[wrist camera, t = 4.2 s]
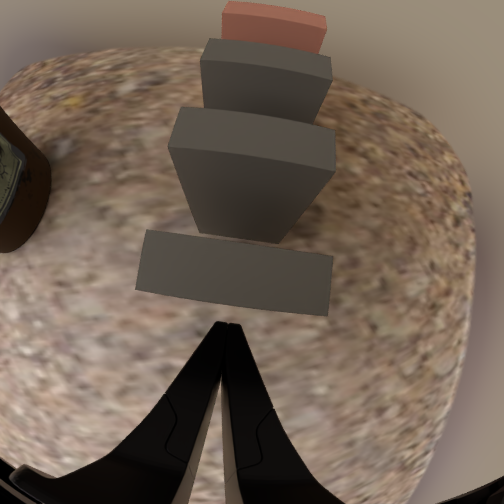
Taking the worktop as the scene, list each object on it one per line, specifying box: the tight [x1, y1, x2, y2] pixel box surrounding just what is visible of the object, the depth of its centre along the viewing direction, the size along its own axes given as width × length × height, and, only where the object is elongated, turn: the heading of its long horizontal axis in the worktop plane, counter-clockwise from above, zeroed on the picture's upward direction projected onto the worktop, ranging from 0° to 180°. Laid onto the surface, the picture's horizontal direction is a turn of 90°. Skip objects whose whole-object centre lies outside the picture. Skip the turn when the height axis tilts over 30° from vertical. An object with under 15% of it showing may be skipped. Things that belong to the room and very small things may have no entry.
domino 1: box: [135, 229, 333, 316], centre depth 12 cm, size 2×5×10 cm, turn 83°
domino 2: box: [168, 107, 336, 244], centre depth 13 cm, size 2×5×10 cm, turn 82°
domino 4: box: [222, 1, 327, 54], centre depth 14 cm, size 2×5×10 cm, turn 83°
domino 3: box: [200, 38, 333, 124], centre depth 13 cm, size 2×5×10 cm, turn 83°
